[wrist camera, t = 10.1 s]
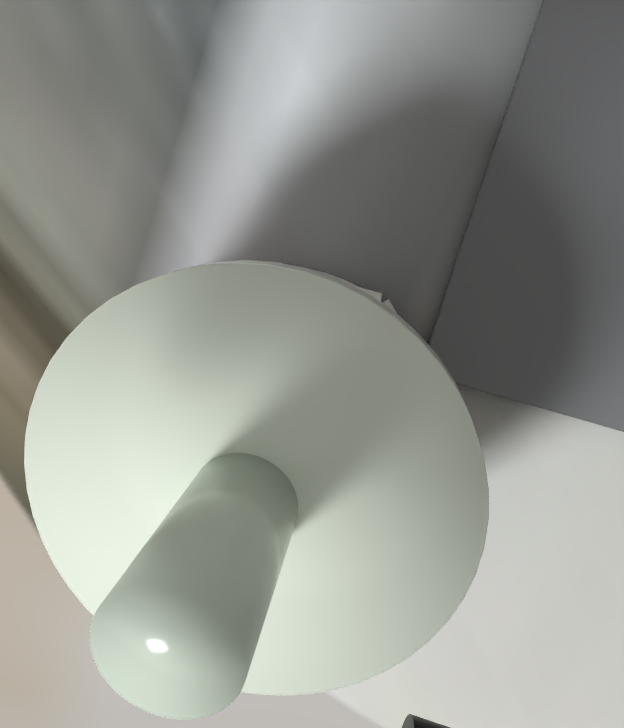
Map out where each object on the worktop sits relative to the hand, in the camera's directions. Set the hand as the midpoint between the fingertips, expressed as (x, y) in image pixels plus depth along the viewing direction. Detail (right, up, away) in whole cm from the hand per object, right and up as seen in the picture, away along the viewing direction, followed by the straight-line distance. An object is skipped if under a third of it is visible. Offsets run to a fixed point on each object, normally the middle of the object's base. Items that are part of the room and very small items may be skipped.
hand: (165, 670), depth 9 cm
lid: (+1, +2, +6) cm, 6 cm away
